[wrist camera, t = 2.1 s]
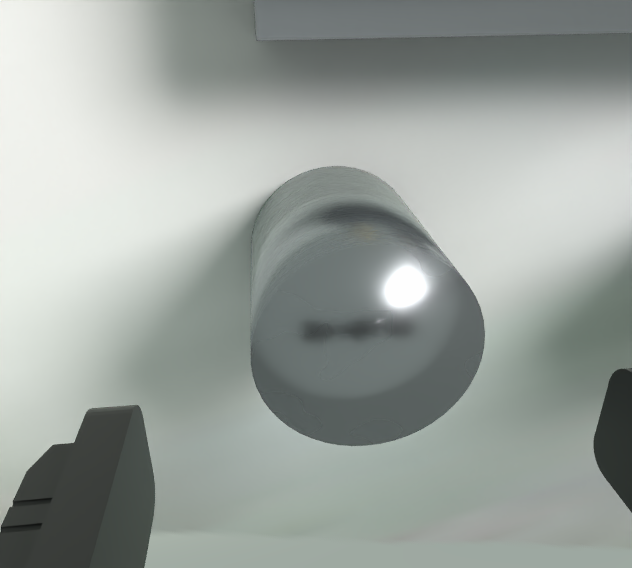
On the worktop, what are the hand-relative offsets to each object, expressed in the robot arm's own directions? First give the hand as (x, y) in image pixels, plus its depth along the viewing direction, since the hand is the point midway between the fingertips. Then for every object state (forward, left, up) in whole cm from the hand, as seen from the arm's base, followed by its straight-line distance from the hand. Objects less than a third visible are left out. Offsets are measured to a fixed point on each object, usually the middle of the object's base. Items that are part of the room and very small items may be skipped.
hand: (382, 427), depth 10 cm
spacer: (0, 0, -9) cm, 9 cm away
